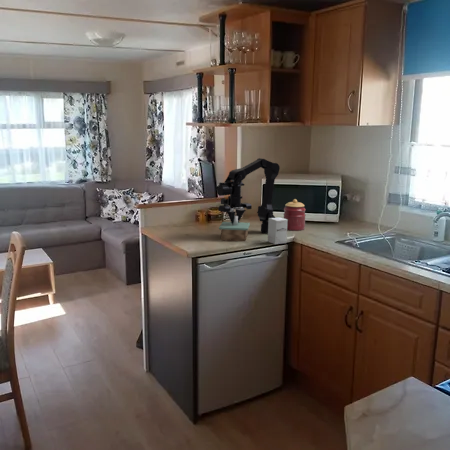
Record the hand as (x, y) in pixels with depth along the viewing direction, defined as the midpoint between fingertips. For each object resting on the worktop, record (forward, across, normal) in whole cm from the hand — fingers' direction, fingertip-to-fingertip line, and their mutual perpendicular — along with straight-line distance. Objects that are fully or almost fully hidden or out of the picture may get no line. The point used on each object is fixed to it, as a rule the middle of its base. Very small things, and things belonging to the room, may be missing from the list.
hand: (234, 223), depth 255 cm
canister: (+8, -44, +2) cm, 45 cm away
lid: (+2, 0, 0) cm, 2 cm away
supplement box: (+8, -12, +20) cm, 25 cm away
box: (+8, 0, 0) cm, 8 cm away
